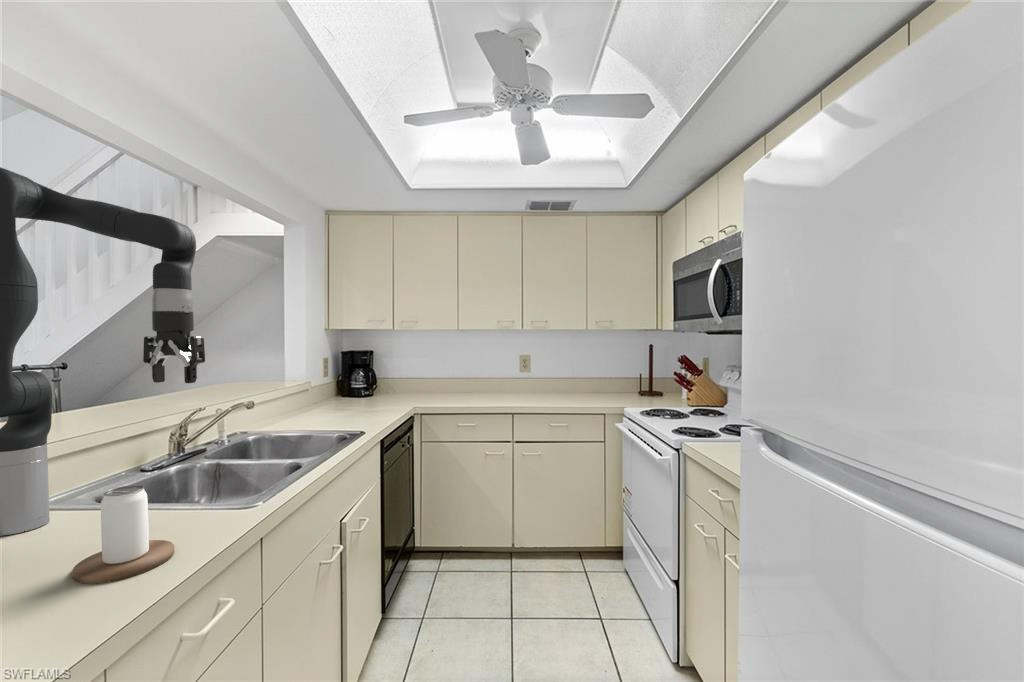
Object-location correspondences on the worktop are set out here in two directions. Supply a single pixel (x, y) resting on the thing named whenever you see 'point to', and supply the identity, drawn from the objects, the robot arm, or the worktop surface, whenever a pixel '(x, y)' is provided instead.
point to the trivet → (99, 571)
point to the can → (124, 524)
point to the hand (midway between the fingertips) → (174, 382)
